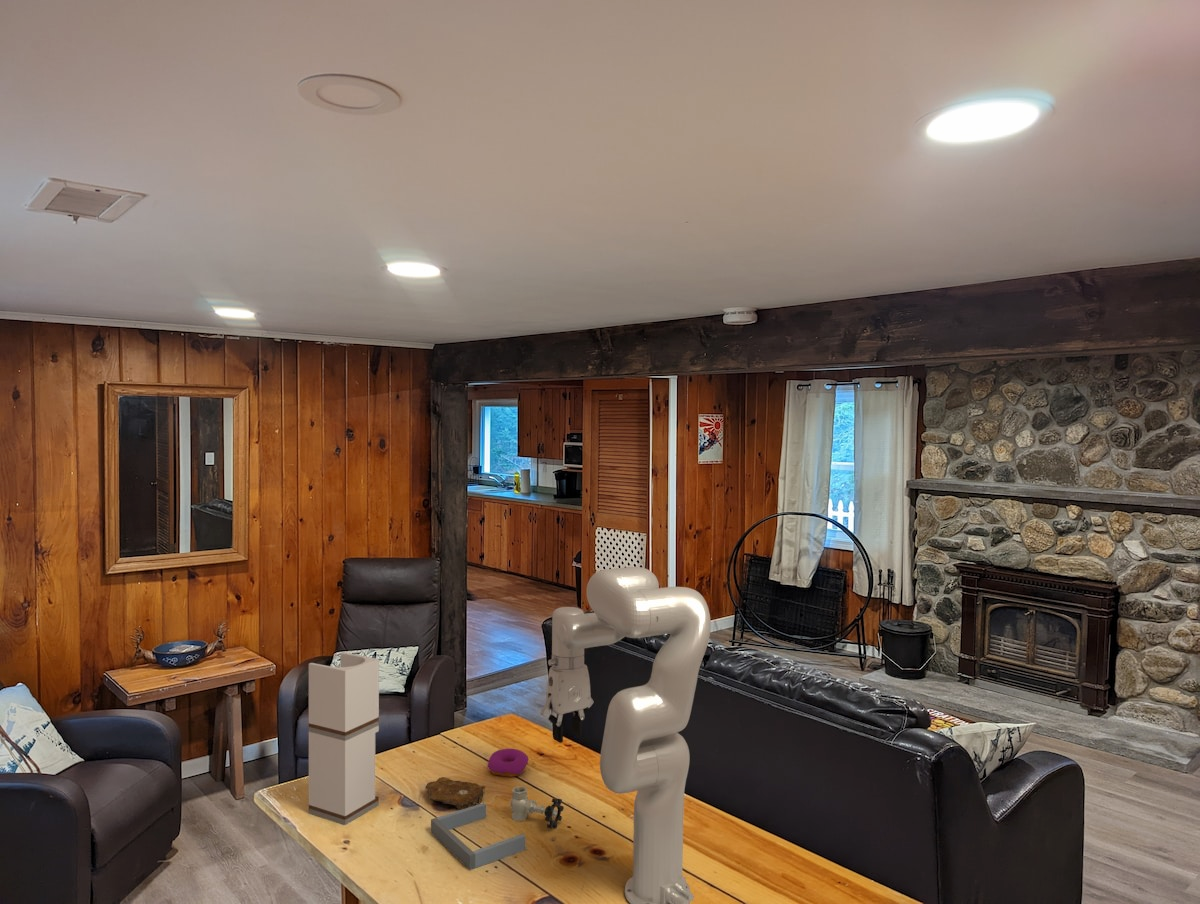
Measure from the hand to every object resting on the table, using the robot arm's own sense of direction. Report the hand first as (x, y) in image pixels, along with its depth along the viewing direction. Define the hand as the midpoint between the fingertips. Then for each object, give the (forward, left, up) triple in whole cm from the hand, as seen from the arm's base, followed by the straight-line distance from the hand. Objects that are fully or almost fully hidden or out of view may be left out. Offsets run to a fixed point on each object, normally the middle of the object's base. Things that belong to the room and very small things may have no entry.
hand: (567, 737), depth 185 cm
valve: (0, +9, -18) cm, 20 cm away
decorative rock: (+21, +19, -18) cm, 34 cm away
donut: (+27, 0, -18) cm, 32 cm away
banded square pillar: (+31, +42, -18) cm, 55 cm away
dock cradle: (0, +23, -17) cm, 29 cm away
